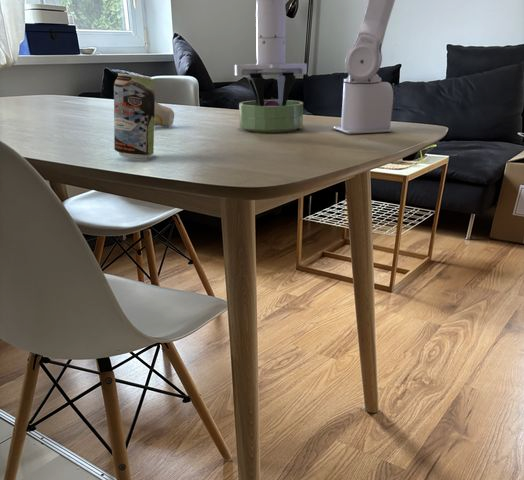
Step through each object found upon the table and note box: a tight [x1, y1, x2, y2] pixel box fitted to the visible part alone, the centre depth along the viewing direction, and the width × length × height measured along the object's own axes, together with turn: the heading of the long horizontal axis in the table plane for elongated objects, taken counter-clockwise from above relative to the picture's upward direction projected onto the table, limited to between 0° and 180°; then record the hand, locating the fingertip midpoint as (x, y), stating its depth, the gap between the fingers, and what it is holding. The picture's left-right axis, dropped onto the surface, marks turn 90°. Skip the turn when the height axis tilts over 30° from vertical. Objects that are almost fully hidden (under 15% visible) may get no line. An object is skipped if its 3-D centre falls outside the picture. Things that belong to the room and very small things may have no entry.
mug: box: [154, 101, 175, 128], centre depth 110 cm, size 8×10×10 cm
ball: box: [264, 101, 279, 106], centre depth 106 cm, size 4×4×4 cm
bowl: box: [238, 99, 304, 134], centre depth 107 cm, size 13×13×5 cm
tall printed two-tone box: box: [113, 72, 156, 159], centre depth 79 cm, size 6×7×12 cm
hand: (271, 114), depth 107 cm, fingers closed on ball, 4 cm apart
